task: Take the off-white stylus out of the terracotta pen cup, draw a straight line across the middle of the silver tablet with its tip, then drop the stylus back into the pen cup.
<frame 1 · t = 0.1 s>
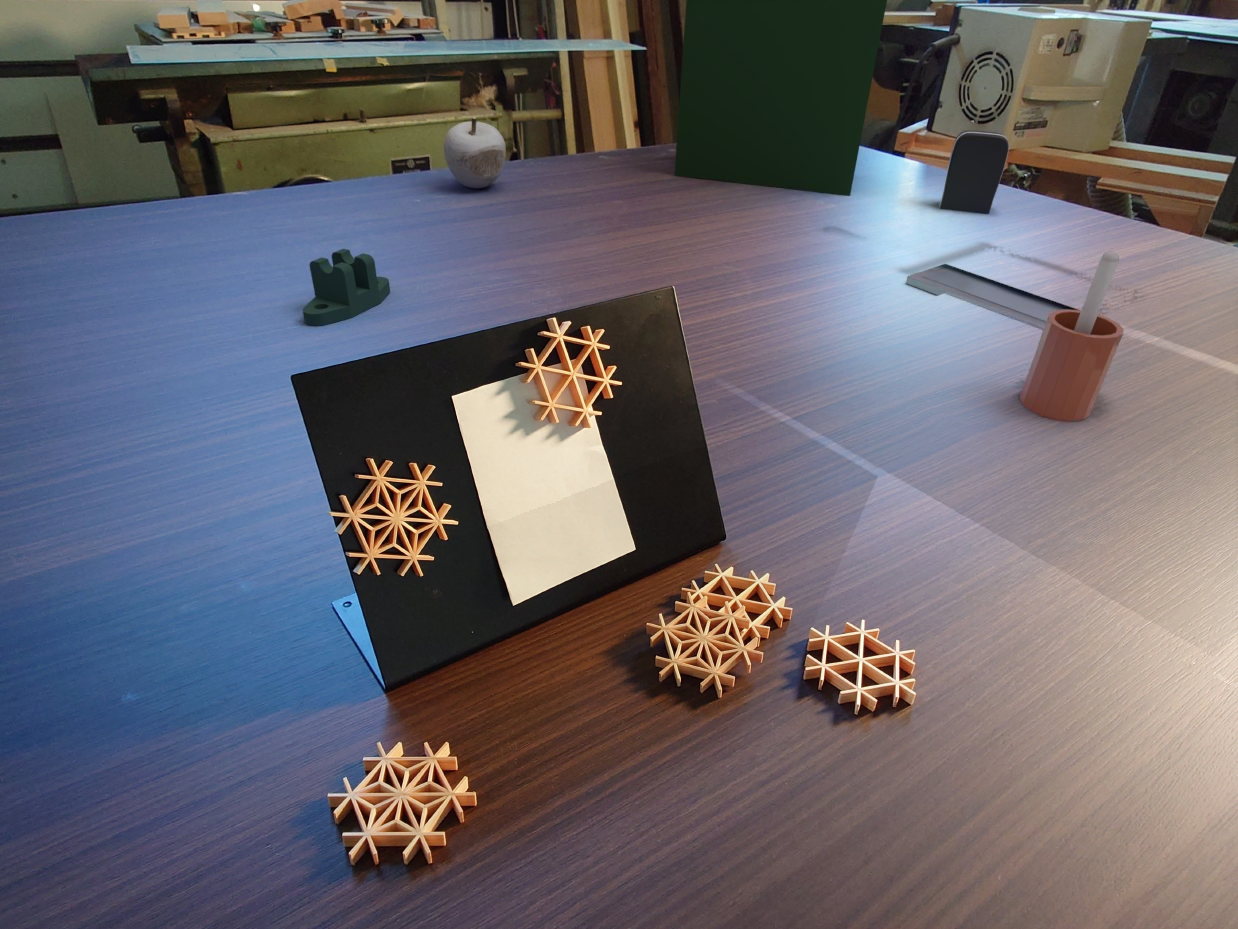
mount: (349, 307, 82), on the table
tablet: (1016, 294, 90), on the table
decorative object: (477, 188, 118), on the table
pen cup: (1051, 410, 68), on the table
binder: (765, 175, 130), on the table
stylus: (1054, 404, 68), point 1 cm above the table, touching pen cup
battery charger: (960, 219, 113), on the table
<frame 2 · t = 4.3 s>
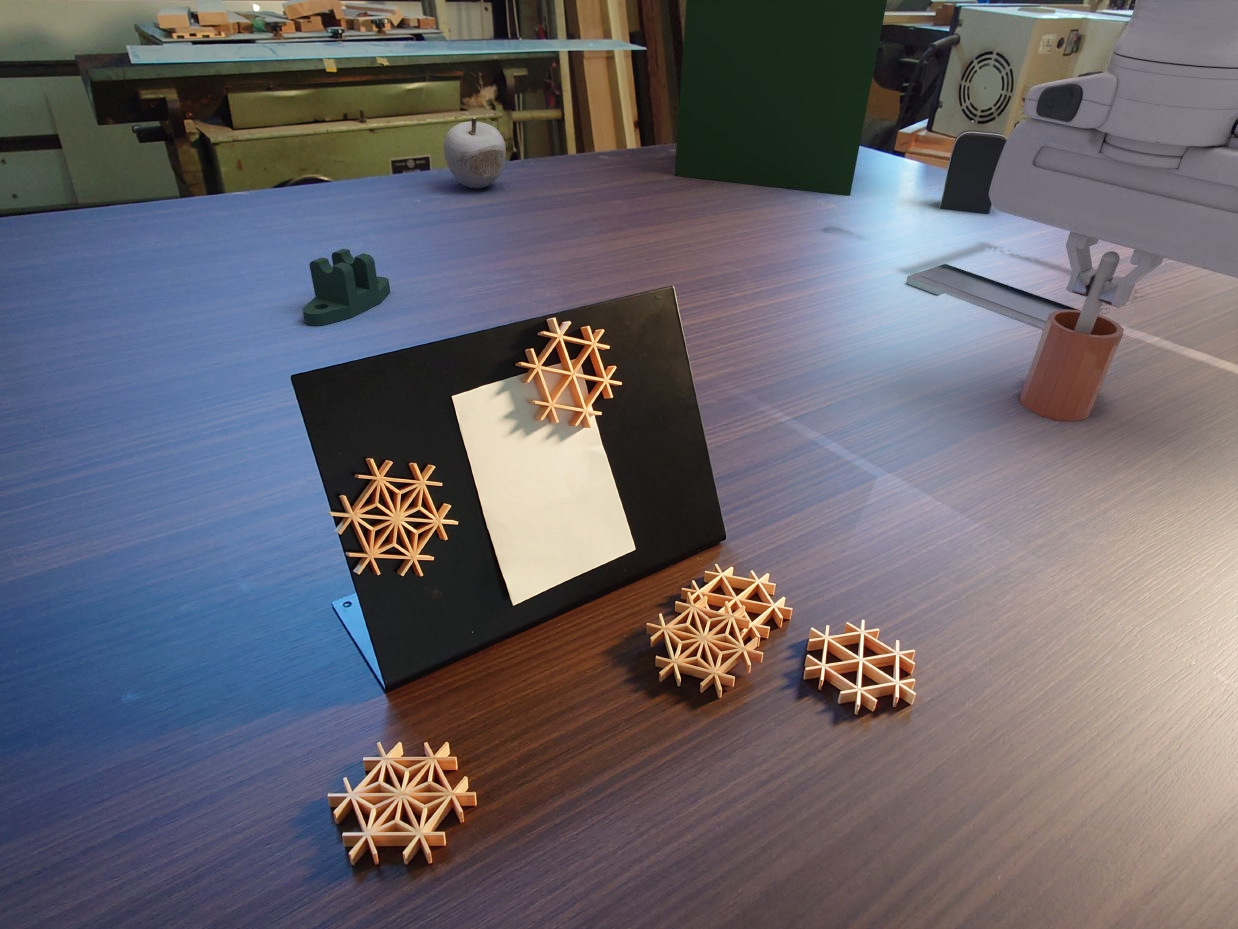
hand: (1095, 297, 63), 10 cm above the table, tool pointing down, fingers closed on stylus, 1 cm apart
stylus: (1054, 404, 68), point 1 cm above the table, touching gripper, pen cup
everything else where it was.
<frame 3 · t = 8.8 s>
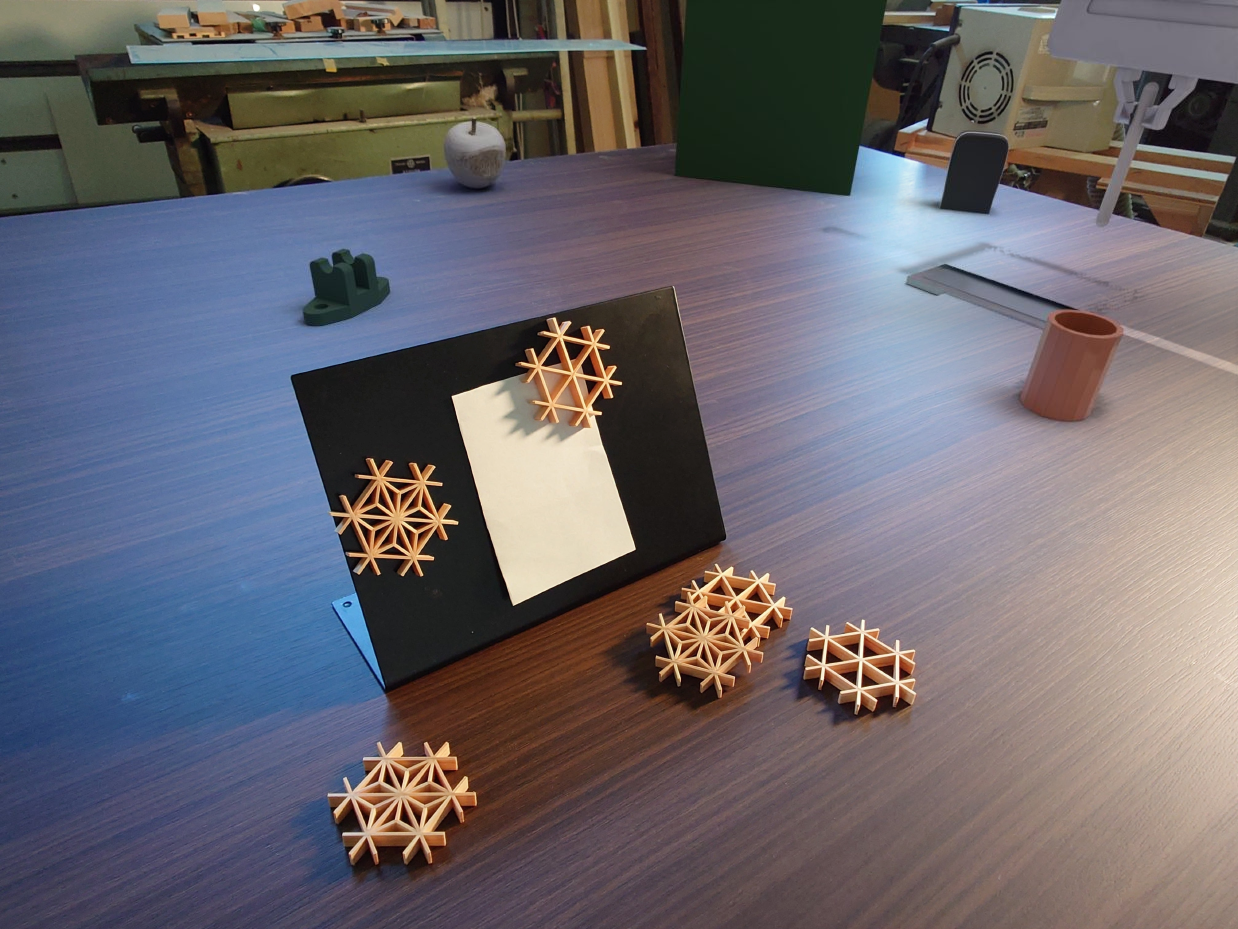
hand: (1137, 125, 75), 19 cm above the table, tool pointing down, fingers closed on stylus
stylus: (1100, 226, 80), point 9 cm above the table, touching gripper
everything else where it was.
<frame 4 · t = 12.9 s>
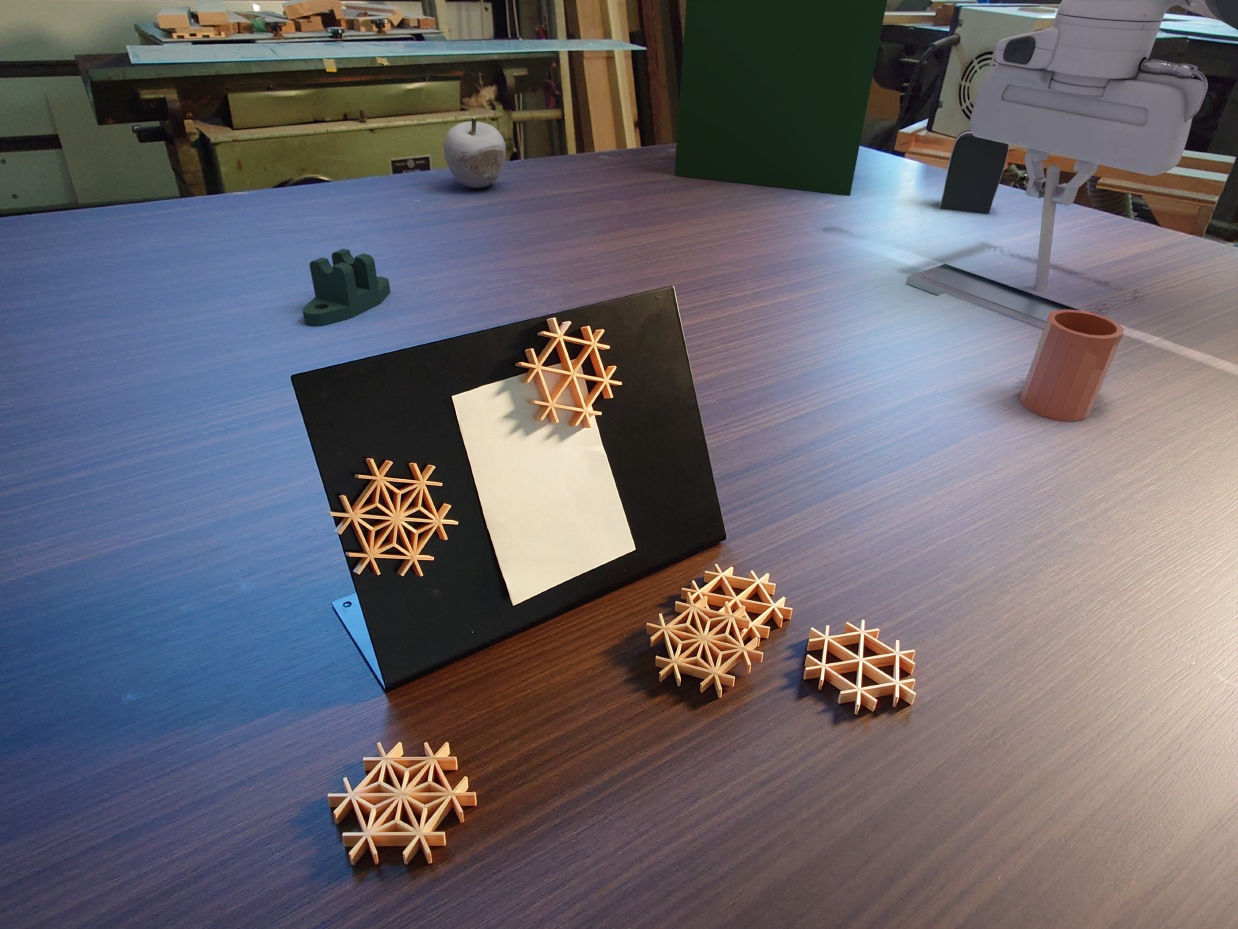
hand: (1048, 199, 84), 10 cm above the table, tool pointing down, fingers closed on stylus, 1 cm apart
stylus: (1040, 292, 88), point 1 cm above the table, tilted 12°, touching gripper, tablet
everything else where it was.
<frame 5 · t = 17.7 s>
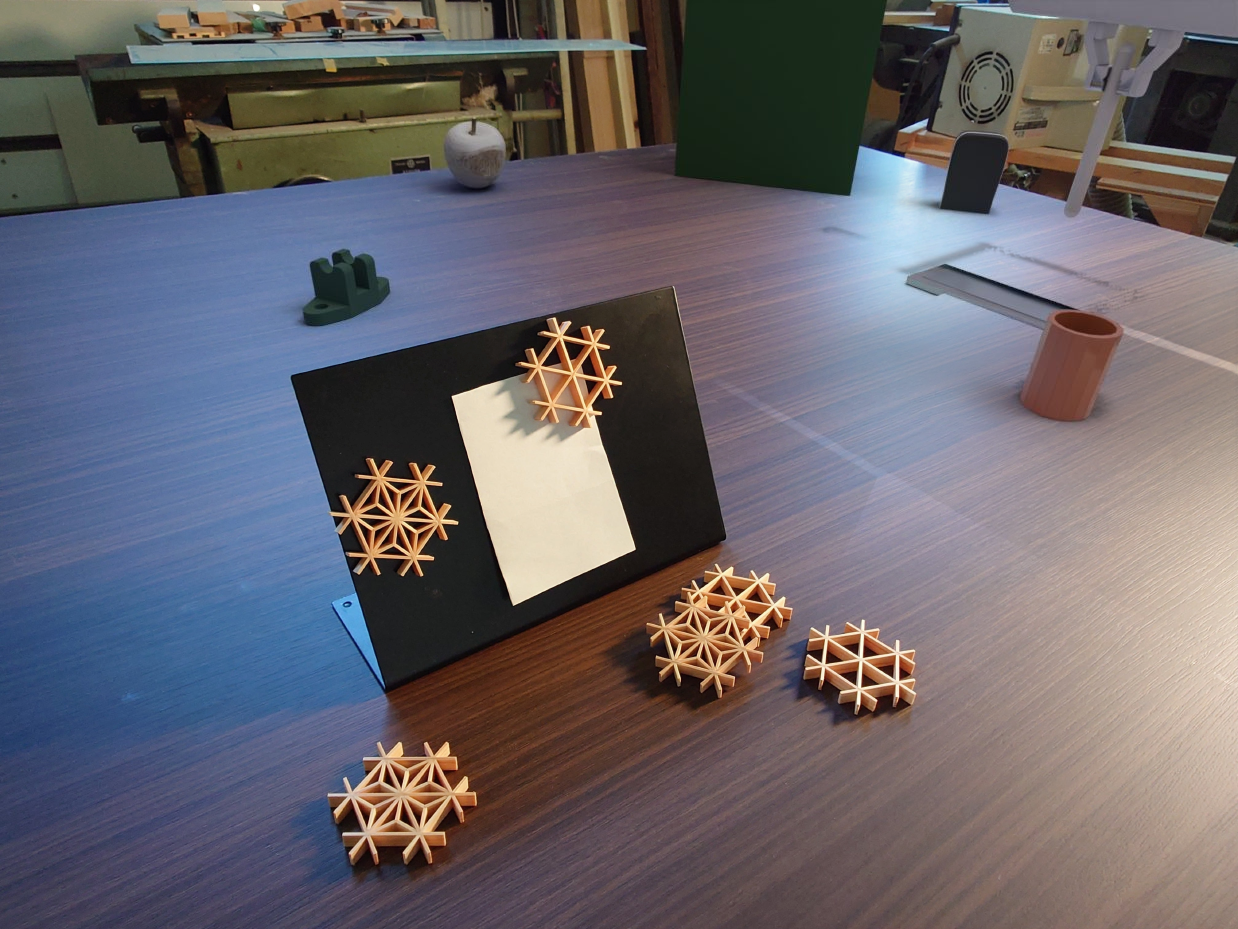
hand: (1112, 92, 63), 23 cm above the table, tool pointing down, fingers closed on stylus
stylus: (1069, 217, 68), point 14 cm above the table, touching gripper
everything else where it was.
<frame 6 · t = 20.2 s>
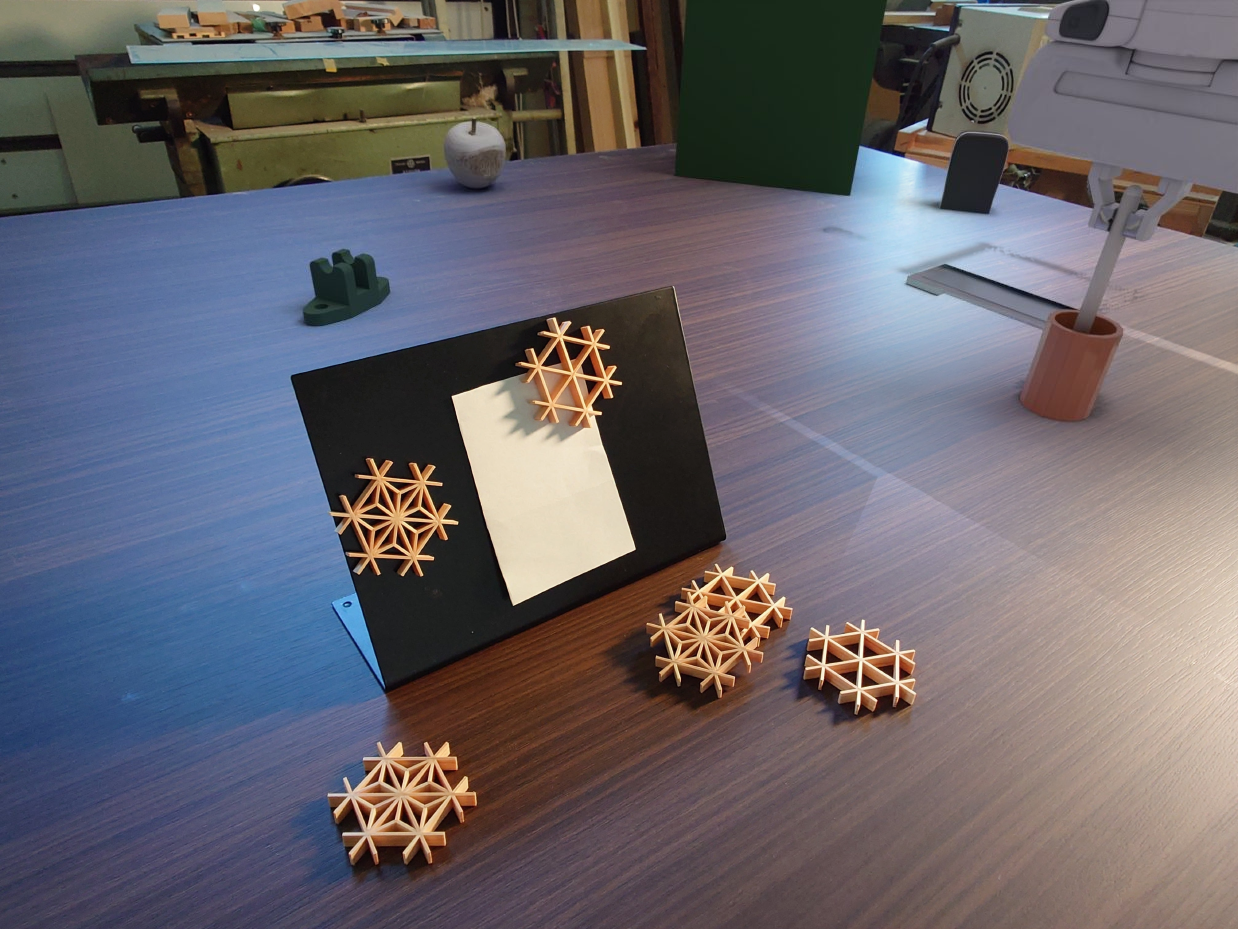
hand: (1118, 233, 60), 15 cm above the table, tool pointing down, fingers closed on stylus
stylus: (1073, 351, 65), point 5 cm above the table, touching gripper
everything else where it was.
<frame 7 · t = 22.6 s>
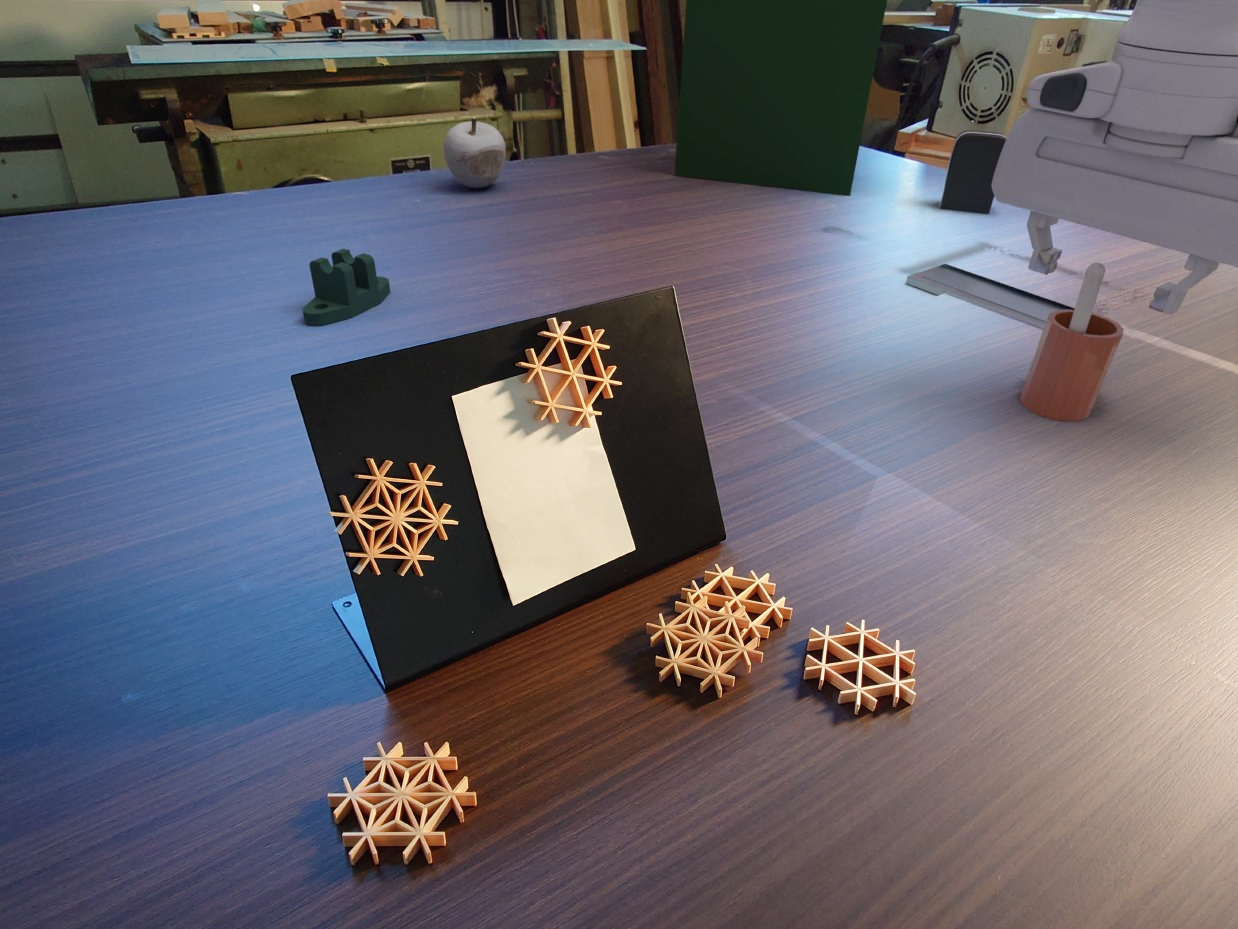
hand: (1098, 289, 62), 11 cm above the table, tool pointing down, fingers open, 8 cm apart
stylus: (1053, 404, 68), point 1 cm above the table, tilted 12°, touching pen cup
everything else where it was.
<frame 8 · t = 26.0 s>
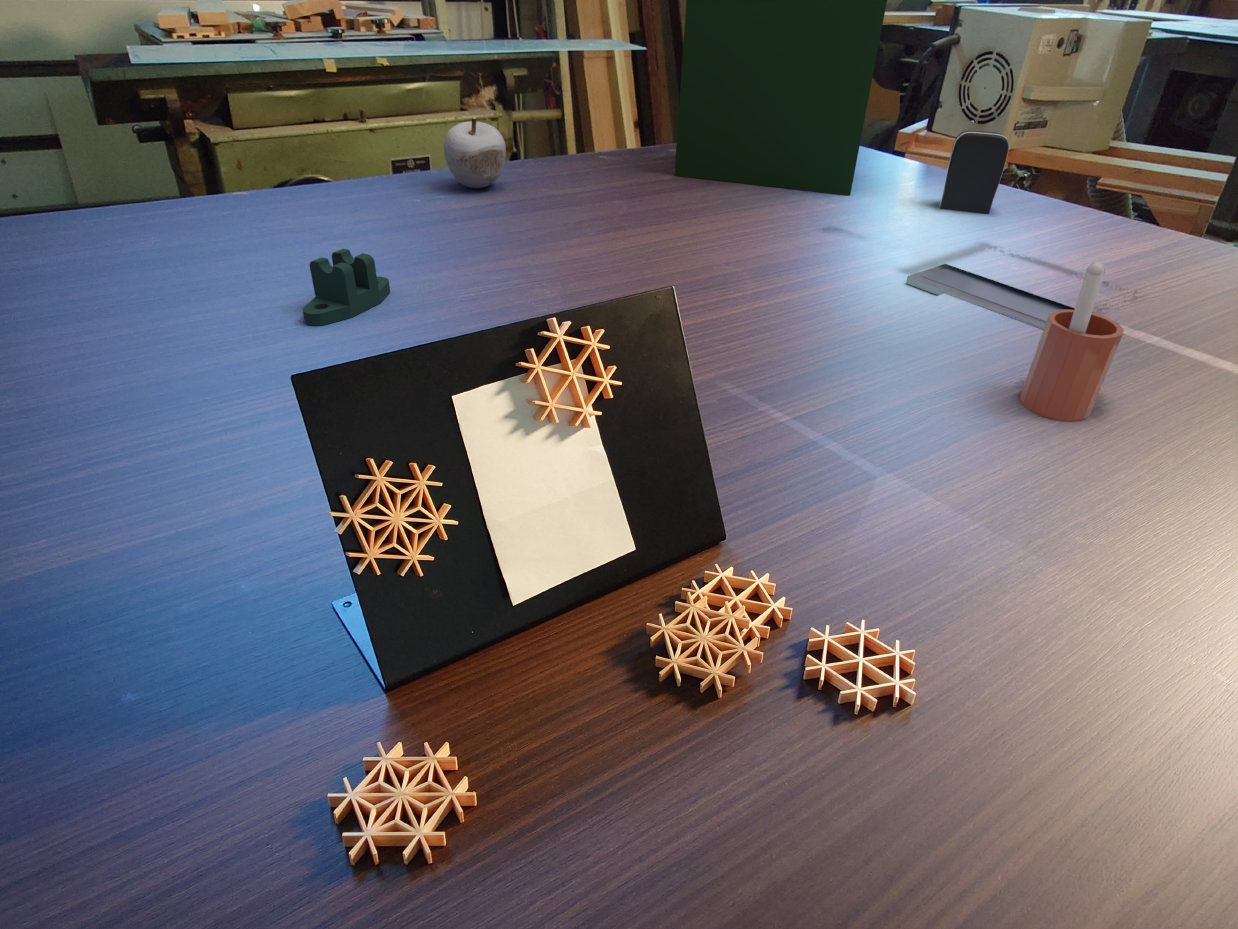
nothing on the table moved.
at the end: stylus 0.1 cm off-centre in the pen cup, point 0.6 cm above the pen cup's base; stylus tilted 12°; stylus touching pen cup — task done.
